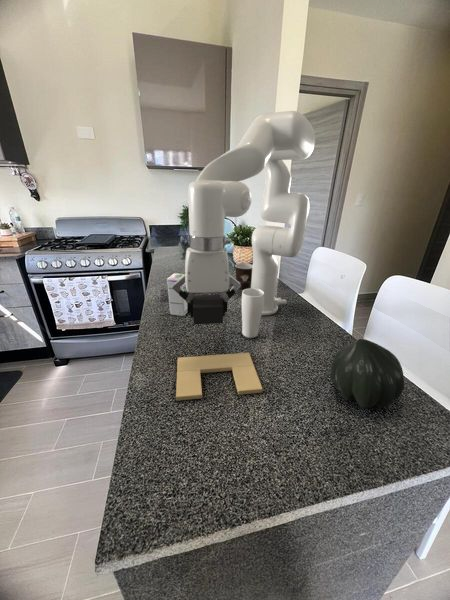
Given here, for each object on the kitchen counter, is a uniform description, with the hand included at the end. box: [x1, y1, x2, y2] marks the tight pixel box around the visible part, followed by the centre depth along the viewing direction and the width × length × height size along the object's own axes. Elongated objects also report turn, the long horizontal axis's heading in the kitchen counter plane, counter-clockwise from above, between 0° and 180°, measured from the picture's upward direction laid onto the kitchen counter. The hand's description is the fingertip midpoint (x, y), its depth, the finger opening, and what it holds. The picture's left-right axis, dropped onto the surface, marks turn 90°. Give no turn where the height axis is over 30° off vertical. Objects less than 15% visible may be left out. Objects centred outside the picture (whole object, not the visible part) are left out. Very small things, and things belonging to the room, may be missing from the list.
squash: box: [329, 337, 405, 410], centre depth 57 cm, size 14×15×15 cm
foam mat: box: [175, 352, 263, 402], centre depth 64 cm, size 20×14×1 cm
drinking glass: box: [240, 287, 264, 339], centre depth 79 cm, size 7×7×15 cm
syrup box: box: [166, 273, 188, 317], centre depth 92 cm, size 6×6×14 cm
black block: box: [192, 294, 224, 325], centre depth 62 cm, size 7×7×4 cm
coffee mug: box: [234, 262, 253, 290], centre depth 118 cm, size 12×9×10 cm
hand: (207, 314), depth 62 cm, fingers closed on black block, 7 cm apart
